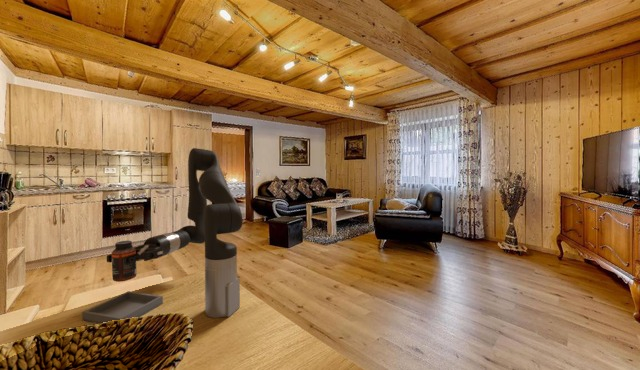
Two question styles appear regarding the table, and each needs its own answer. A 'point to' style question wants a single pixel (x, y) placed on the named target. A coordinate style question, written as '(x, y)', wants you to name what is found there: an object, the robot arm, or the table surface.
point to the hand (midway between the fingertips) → (116, 260)
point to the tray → (122, 307)
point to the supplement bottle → (118, 267)
